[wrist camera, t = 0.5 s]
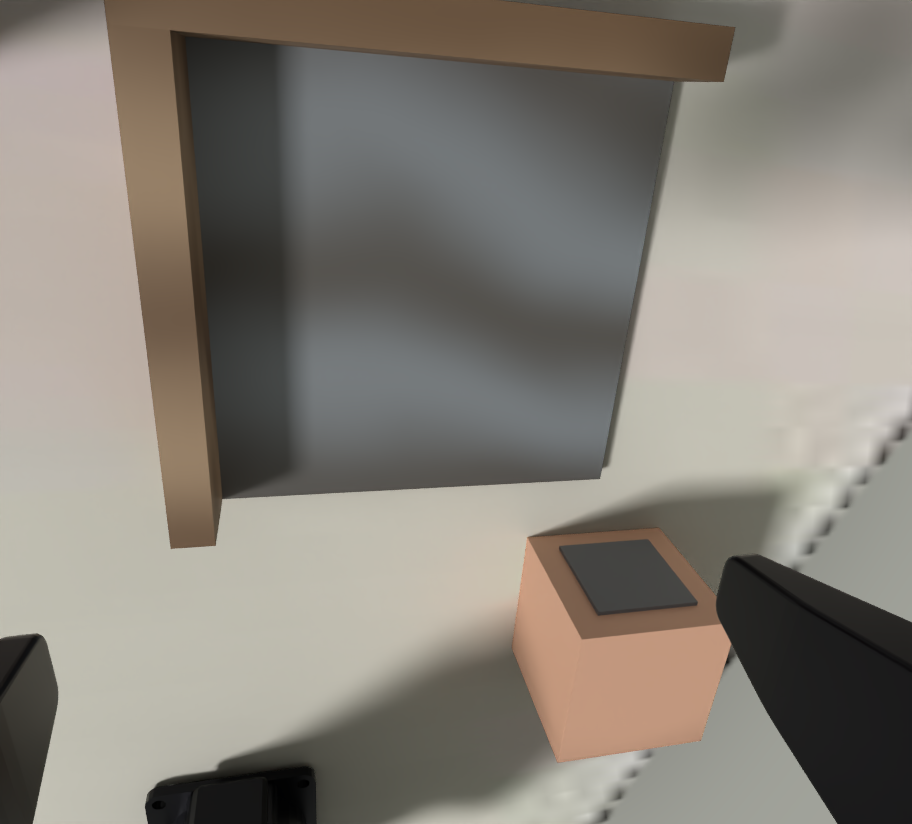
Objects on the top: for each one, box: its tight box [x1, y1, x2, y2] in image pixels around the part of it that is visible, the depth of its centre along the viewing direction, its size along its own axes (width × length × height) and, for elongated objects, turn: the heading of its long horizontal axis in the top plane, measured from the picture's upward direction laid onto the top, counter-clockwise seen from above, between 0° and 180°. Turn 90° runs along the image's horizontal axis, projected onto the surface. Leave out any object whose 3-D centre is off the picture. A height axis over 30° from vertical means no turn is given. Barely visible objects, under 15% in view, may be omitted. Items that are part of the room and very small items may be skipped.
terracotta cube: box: [512, 528, 731, 763], centre depth 25 cm, size 6×6×6 cm
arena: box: [104, 0, 735, 549], centre depth 19 cm, size 14×14×3 cm
